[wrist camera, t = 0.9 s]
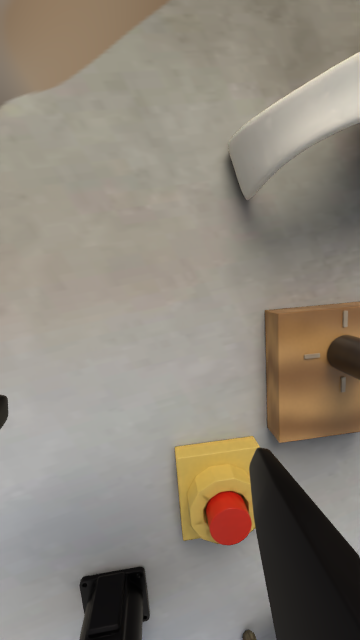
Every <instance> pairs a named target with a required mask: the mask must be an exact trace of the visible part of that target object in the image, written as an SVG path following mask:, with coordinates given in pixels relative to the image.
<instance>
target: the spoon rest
mask: <svg viewBox="0 0 360 640" xmlns="http://www.w3.org/2000/svg"><path fill="white" fill-rule="evenodd" d="M358 123H360V52H358V53H357V54H355V55H353V56H351V57H350V58H348V59H346V60H344V61H342V62H341V63H339V64H337V65H336V66H334V67H332V68H330V69H329V70H327V71H326V72H324V73H322V74H321V75H319V76H317V77H316V78H314V79H312V80H311V81H309V82H308V83H306V84H305V85H303V86H301V87H300V88H298V89H296V90H295V91H293V92H292V93H290V94H288V95H287V96H285V97H284V98H282V99H281V100H279V101H277V102H276V103H274V104H273V105H272V106H270V107H269V108H267V109H266V110H264V111H263V112H261V113H260V114H259V115H257V116H256V117H254V118H253V119H251V120H250V121H249V122H248V123H246V124H245V125H244V126H243V127H242V128H241V129H240V130H238V131H237V132H236V133H235V134H234V136H233V137H232V138H231V139H230V141H229V143H228V149H229V154H230V157H231V160H232V163H233V166H234V169H235V172H236V176H237V179H238V182H239V185H240V188H241V191H242V193H243V195H244V197H245V198H246V199H247V200H249V199H251V198H252V197H253V196H254V195H255V194H256V193H257V192H258V191H259V189H260V188H261V187H262V186H263V185H264V184H265V183H266V182H267V181H268V180H269V179H270V178H271V177H272V176H273V175H274V174H275V173H276V172H277V171H278V170H279V169H280V168H281V167H282V166H284V165H285V164H286V163H287V162H288V161H290V160H291V159H293V158H294V157H295V156H297V155H298V154H300V153H301V152H303V151H304V150H306V149H307V148H309V147H311V146H312V145H314V144H316V143H318V142H320V141H321V140H323V139H325V138H327V137H329V136H331V135H333V134H335V133H337V132H339V131H342V130H344V129H346V128H348V127H350V126H353V125H356V124H358Z"/></svg>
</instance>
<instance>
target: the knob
mask: <svg viewBox="0 0 360 640" xmlns="http://www.w3.org/2000/svg"><path fill="white" fill-rule="evenodd" d="M327 357H328V361H329V363H330V364H331V366H332V367H334V368H335V369H337V370H339V371H341V372H344V373H346V374H348V375H350V376H352V377H354V378H356V379H358V380H360V338H359V337H355V336H351V335H342V336H340V337H338V338H336V339H335V340H334V341H333V342H332V343H331V344H330V346H329V348H328V353H327Z"/></svg>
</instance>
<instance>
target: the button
mask: <svg viewBox="0 0 360 640" xmlns="http://www.w3.org/2000/svg"><path fill="white" fill-rule="evenodd" d="M206 516H207V520H208V525H209V530H210V534H211V536H212V538H213V539H214V540H215V541H216V542H218V543H220V544H223V545H233V544H237V543H239V542H241V541H242V540H244V539H245V538H246V537H247V536H248V534H249V532H250V530H251V527H252V521H251V517H250V515H249V512H248V510H247V507H246V505H245V503H244V500H243V498H242V497H241V496H240V495H239V494H237V493H235V492H233V491H225V492H219V493H218V494H216V495H215V496H214V497H212V498H211V499H210V500H209V502H208V504H207V506H206Z"/></svg>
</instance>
